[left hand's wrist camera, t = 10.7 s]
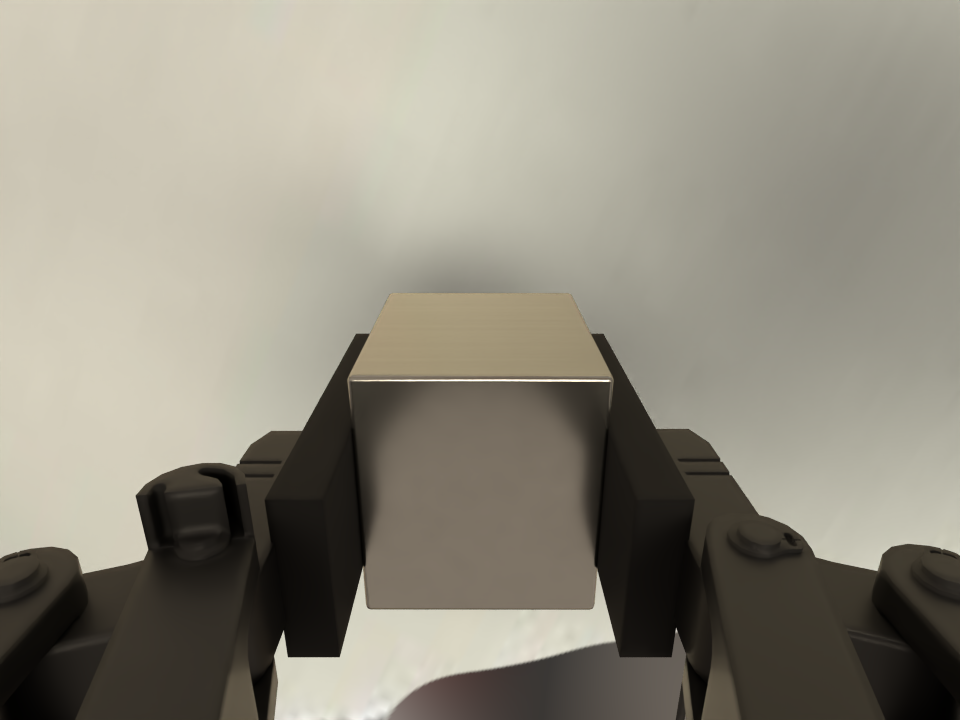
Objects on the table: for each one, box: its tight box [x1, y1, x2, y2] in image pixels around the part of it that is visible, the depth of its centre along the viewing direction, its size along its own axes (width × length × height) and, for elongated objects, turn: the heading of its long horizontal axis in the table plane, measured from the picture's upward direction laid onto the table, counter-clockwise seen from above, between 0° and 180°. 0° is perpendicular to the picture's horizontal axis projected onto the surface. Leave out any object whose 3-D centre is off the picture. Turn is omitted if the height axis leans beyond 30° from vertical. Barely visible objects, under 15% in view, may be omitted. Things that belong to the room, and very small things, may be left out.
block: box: [347, 293, 614, 609], centre depth 13 cm, size 4×5×5 cm
